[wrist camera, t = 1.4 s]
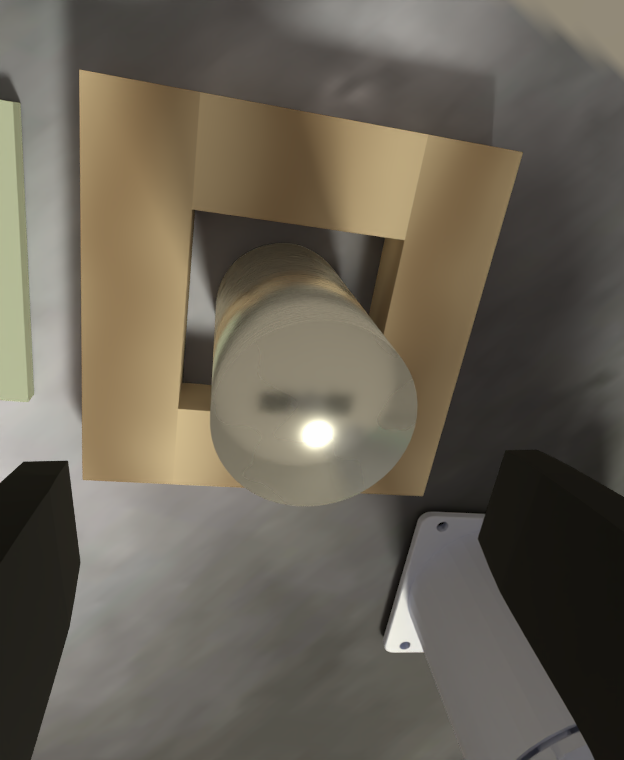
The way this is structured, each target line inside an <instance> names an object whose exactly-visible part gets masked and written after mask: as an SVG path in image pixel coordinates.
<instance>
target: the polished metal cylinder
mask: <svg viewBox="0 0 624 760" xmlns="http://www.w3.org/2000/svg"><path fill="white" fill-rule="evenodd" d="M417 406H418V404H417V393H416V389H415V385H414V381H413V379H412V376H411V374H410V371H409V369H408V368H407V366H406V364H405V363H404V361H403V359H402V358H401V357H400V355H399V354H398V353H397V352H396V350H395V349H394V348H393V346H392V345H391V344H390V342H389V341H388V340H387V339H386V337H385V336H384V335H383V333H382V332H381V331H380V329H379V328H378V327H377V325H376V324H375V323H374V322H373V320H372V319H371V318H370V316H369V315H368V314H367V312H366V311H365V310H364V309H363V307H362V306H361V305H360V303H359V302H358V301H357V299H356V298H355V297H354V295H353V294H352V293H351V292H350V290H349V289H348V288H347V286H346V285H345V284H344V282H343V281H342V280H341V279H340V277H339V276H338V275H337V273H336V272H335V271H334V269H333V268H332V267H331V266H330V265H329V263H328V262H327V261H326V260H325V259H323V258H322V257H321V256H320V255H318V254H317V253H315V252H314V251H312V250H310V249H308V248H305V247H302V246H300V245H295V244H290V243H273V244H267V245H263V246H260V247H257V248H255V249H253V250H251V251H249V252H247V253H246V254H244V255H243V256H241V257H240V258H239V259H238V260H236V261H235V262H234V263H233V264H232V266H231V267H230V268H229V269H228V271H227V272H226V274H225V275H224V277H223V279H222V281H221V283H220V286H219V289H218V292H217V298H216V313H215V332H214V350H213V369H212V388H211V407H210V430H211V438H212V441H213V445H214V448H215V451H216V453H217V455H218V457H219V459H220V461H221V463H222V464H223V466H224V467H225V469H226V470H227V471H228V472H229V474H230V475H231V476H232V477H233V478H234V479H235V480H236V481H237V482H238V483H240V484H241V485H242V486H243V487H245V488H246V489H248V490H249V491H251V492H252V493H254V494H256V495H258V496H260V497H262V498H264V499H267V500H270V501H273V502H276V503H281V504H286V505H293V506H318V505H326V504H330V503H335V502H339V501H342V500H345V499H347V498H350V497H352V496H355V495H357V494H359V493H361V492H363V491H364V490H366V489H368V488H369V487H371V486H373V485H374V484H375V483H377V482H378V481H379V480H381V479H382V478H383V477H384V476H385V475H386V474H387V473H388V472H389V471H390V470H391V469H392V468H393V467H394V466H395V465H396V463H397V462H398V461H399V460H400V458H401V456H402V455H403V453H404V452H405V450H406V448H407V446H408V444H409V442H410V440H411V438H412V435H413V432H414V429H415V424H416V419H417Z"/></svg>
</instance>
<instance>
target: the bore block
mask: <svg viewBox="0 0 624 760" xmlns="http://www.w3.org/2000/svg"><path fill="white" fill-rule="evenodd" d="M79 101H80V223H81V346H82V468H83V480H95V481H116V482H137V483H158V484H179V485H200V486H221V487H241V488H245V487H243V486H242V485H241V484H240V483H238V482H237V481H236V480H235V479H234V478H233V477H232V476H231V475H230V474H229V472H228V471H227V470H226V469H225V467H224V466H223V464H222V463H221V461H220V459H219V457H218V455H217V453H216V451H215V448H214V445H213V441H212V438H211V430H210V407H211V388H212V385H205V384H193V383H182V382H183V368H184V354H185V340H186V327H187V313H188V299H189V285H190V271H191V257H192V243H193V230H194V216H195V210H199V211H206V212H213V213H220V214H227V215H234V216H241V217H248V218H255V219H262V220H268V221H275V222H282V223H289V224H296V225H303V226H310V227H317V228H324V229H331V230H338V231H345V232H351V233H358V234H365V235H372V236H379V237H385V240H384V245H383V250H382V255H381V259H380V264H379V269H378V274H377V278H376V283H375V288H374V293H373V297H372V302H371V307H370V312H369V316H370V318H371V319H372V320H373V322H374V323H375V324H376V325H377V327H378V328H379V329H380V331H381V332H382V333H383V335H384V336H385V337H386V339H387V340H388V341H389V342H390V344H391V345H392V346H393V348H394V349H395V350H396V352H397V353H398V354H399V355H400V357H401V358H402V359H403V361H404V363H405V364H406V366H407V368H408V369H409V371H410V374H411V376H412V379H413V381H414V385H415V389H416V393H417V404H418V406H417V419H416V424H415V429H414V432H413V435H412V438H411V440H410V442H409V444H408V446H407V448H406V450H405V452H404V453H403V455H402V456H401V458H400V460H399V461H398V462H397V463H396V465H395V466H394V467H393V468H392V469H391V470H390V471H389V472H388V473H387V474H386V475H385V476H384V477H383V478H382V479H381V480H379V481H378V482H377V483H375V484H374V485H373V486H371V487H369V488H368V489H366V490H364V491H363V492H361V493H367V494H388V495H409V496H423V495H424V491H425V488H426V484H427V481H428V478H429V474H430V471H431V467H432V464H433V460H434V457H435V453H436V450H437V447H438V443H439V440H440V436H441V433H442V429H443V426H444V422H445V419H446V416H447V412H448V409H449V405H450V402H451V398H452V395H453V392H454V388H455V385H456V381H457V378H458V374H459V371H460V367H461V364H462V361H463V357H464V354H465V350H466V347H467V343H468V340H469V336H470V333H471V330H472V326H473V323H474V319H475V316H476V312H477V309H478V305H479V302H480V299H481V295H482V292H483V288H484V285H485V281H486V278H487V274H488V271H489V268H490V264H491V261H492V257H493V254H494V250H495V247H496V244H497V240H498V237H499V233H500V230H501V226H502V223H503V219H504V216H505V213H506V209H507V206H508V202H509V199H510V195H511V192H512V188H513V185H514V182H515V178H516V175H517V171H518V168H519V164H520V161H521V157H522V154H523V152H519V151H514V150H509V149H503V148H498V147H492V146H487V145H482V144H476V143H471V142H466V141H460V140H455V139H449V138H444V137H439V136H433V135H428V134H423V133H417V132H412V131H407V130H401V129H396V128H390V127H385V126H380V125H374V124H369V123H364V122H358V121H353V120H348V119H342V118H337V117H331V116H326V115H321V114H315V113H310V112H305V111H299V110H294V109H288V108H283V107H278V106H272V105H267V104H262V103H256V102H251V101H246V100H240V99H235V98H229V97H224V96H219V95H213V94H208V93H203V92H197V91H192V90H186V89H181V88H176V87H170V86H165V85H160V84H154V83H149V82H144V81H138V80H133V79H127V78H122V77H117V76H111V75H106V74H101V73H95V72H90V71H84V70H79Z"/></svg>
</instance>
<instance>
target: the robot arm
mask: <svg viewBox="0 0 624 760" xmlns="http://www.w3.org/2000/svg"><path fill="white" fill-rule="evenodd" d="M441 522H444V524H442V525H439V526H437V525H438V524H439V523H441ZM79 568H80V556H79V547H78V539H77V531H76V523H75V515H74V507H73V498H72V490H71V482H70V474H69V466H68V461H35V462H23V463H22V464H21V465H19V466H18V467H17V468H16V469H15V470H14V471H13V472H12V473H11V474H9V475H8V476H7V477H6V478H5V479H4V480H3V481H2V482H1V483H0V760H31V757H32V754H33V751H34V747H35V744H36V740H37V737H38V734H39V730H40V727H41V723H42V720H43V717H44V713H45V710H46V707H47V703H48V700H49V696H50V693H51V690H52V686H53V683H54V679H55V676H56V672H57V669H58V665H59V662H60V658H61V655H62V652H63V648H64V645H65V641H66V638H67V634H68V630H69V627H70V621H71V615H72V610H73V604H74V599H75V592H76V586H77V580H78V574H79ZM383 644H384V647H385V649H386V650H387V651H388V652H424V654H425V657H426V659H427V662H428V665H429V667H430V670H431V673H432V675H433V678H434V680H435V683H436V686H437V688H438V691H439V694H440V696H441V699H442V702H443V704H444V707H445V709H446V712H447V715H448V717H449V720H450V723H451V725H452V728H453V731H454V733H455V736H456V739H457V741H458V744H459V746H460V749H461V752H462V754H463V757H464V760H624V497H623V496H621V495H619V494H618V493H616V492H614V491H613V490H611V489H609V488H607V487H606V486H604V485H602V484H600V483H599V482H597V481H595V480H593V479H592V478H590V477H588V476H586V475H585V474H583V473H581V472H579V471H577V470H576V469H574V468H572V467H570V466H568V465H566V464H565V463H563V462H561V461H559V460H557V459H555V458H553V457H551V456H549V455H547V454H545V453H543V452H540V451H538V450H506V451H505V454H504V457H503V460H502V463H501V467H500V470H499V473H498V476H497V479H496V482H495V485H494V489H493V492H492V495H491V498H490V501H489V504H488V507H487V511H486V514H477V513H453V512H426V513H424V514H422V515H421V516H420V517H419V519H418V521H417V525H416V528H415V532H414V535H413V538H412V542H411V545H410V549H409V552H408V556H407V559H406V562H405V566H404V569H403V573H402V576H401V579H400V583H399V586H398V590H397V593H396V597H395V600H394V603H393V607H392V610H391V614H390V617H389V621H388V624H387V627H386V631H385V634H384V638H383Z"/></svg>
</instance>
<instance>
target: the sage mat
mask: <svg viewBox="0 0 624 760" xmlns="http://www.w3.org/2000/svg"><path fill="white" fill-rule="evenodd" d="M33 395H34V384H33V362H32V341H31V320H30V298H29V277H28V255H27V234H26V213H25V191H24V170H23V149H22V127H21V106H20V103H17V102H11V101H6V100H0V400H6V401H20V402H29V400H30V399H31V398H32V396H33Z"/></svg>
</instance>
